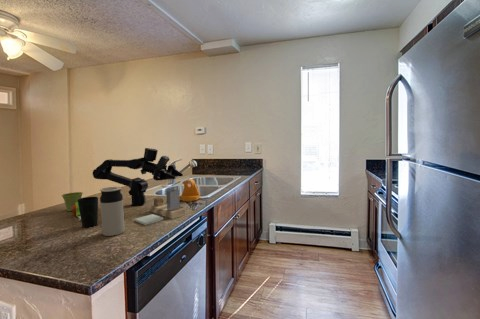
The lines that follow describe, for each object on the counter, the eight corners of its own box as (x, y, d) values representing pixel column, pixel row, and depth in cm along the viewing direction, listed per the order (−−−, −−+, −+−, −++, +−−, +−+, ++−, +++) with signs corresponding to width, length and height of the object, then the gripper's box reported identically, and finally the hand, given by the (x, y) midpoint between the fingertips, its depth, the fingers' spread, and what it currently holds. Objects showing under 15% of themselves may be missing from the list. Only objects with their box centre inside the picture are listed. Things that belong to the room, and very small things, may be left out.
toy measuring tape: (86, 210, 136) (86, 198, 136) (90, 220, 120) (89, 206, 120) (72, 213, 133) (71, 200, 132) (74, 223, 117) (72, 208, 116)
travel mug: (110, 238, 97) (106, 191, 96) (98, 234, 102) (95, 189, 100) (128, 231, 104) (126, 187, 103) (117, 228, 108) (114, 185, 107)
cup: (78, 230, 107) (76, 201, 106) (80, 224, 113) (78, 198, 112) (99, 226, 110) (97, 199, 109) (100, 221, 117) (98, 195, 116)
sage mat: (134, 220, 117) (134, 218, 117) (152, 216, 124) (152, 214, 124) (145, 225, 111) (144, 222, 111) (163, 219, 118) (163, 217, 118)
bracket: (178, 201, 152) (177, 181, 150) (183, 198, 159) (182, 179, 158) (196, 201, 150) (195, 181, 149) (200, 198, 157) (199, 179, 156)
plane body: (149, 211, 132) (148, 198, 131) (161, 208, 137) (161, 196, 137) (172, 218, 119) (171, 205, 118) (184, 215, 124) (184, 201, 124)
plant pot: (58, 211, 135) (57, 195, 135) (76, 206, 144) (74, 191, 143) (71, 213, 132) (69, 196, 131) (87, 208, 141) (86, 192, 140)
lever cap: (166, 209, 123) (165, 191, 123) (175, 207, 127) (174, 189, 126) (170, 211, 121) (169, 192, 120) (179, 208, 125) (178, 190, 124)
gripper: (146, 155, 132) (174, 164, 129) (164, 153, 150) (189, 160, 147) (142, 176, 134) (169, 185, 131) (160, 171, 152) (184, 178, 149)
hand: (179, 176), depth 139 cm, fingers open, 9 cm apart
